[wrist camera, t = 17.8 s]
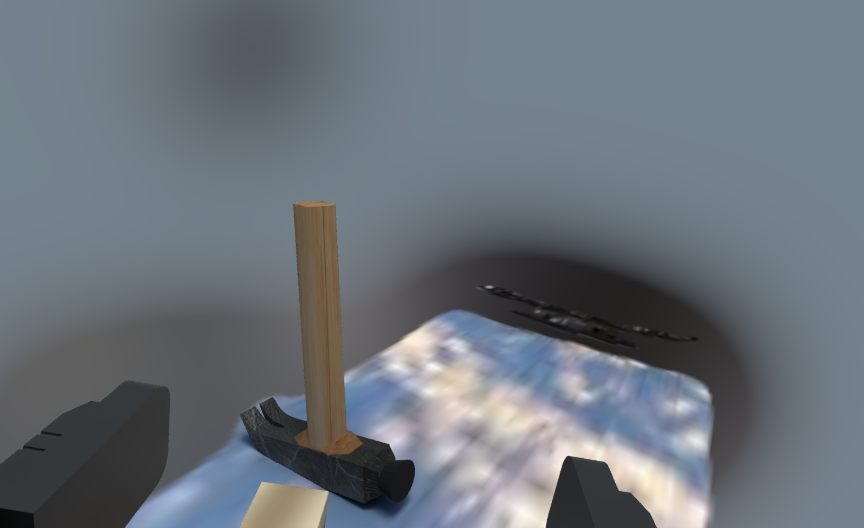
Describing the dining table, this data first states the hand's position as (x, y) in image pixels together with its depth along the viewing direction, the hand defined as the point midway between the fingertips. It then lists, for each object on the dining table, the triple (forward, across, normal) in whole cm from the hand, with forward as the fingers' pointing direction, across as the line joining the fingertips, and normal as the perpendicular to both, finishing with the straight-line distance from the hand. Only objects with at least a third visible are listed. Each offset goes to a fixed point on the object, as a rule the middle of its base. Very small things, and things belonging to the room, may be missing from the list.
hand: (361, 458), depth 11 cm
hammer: (+42, +6, +34) cm, 54 cm away
